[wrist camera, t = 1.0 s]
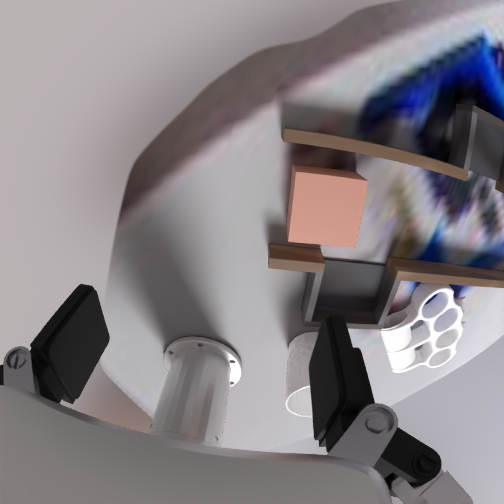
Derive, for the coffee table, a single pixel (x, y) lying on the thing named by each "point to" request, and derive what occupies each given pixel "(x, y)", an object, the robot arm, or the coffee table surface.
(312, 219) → the salmon pink square block
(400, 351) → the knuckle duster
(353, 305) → the channel
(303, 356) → the white cup
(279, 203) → the coffee table surface
